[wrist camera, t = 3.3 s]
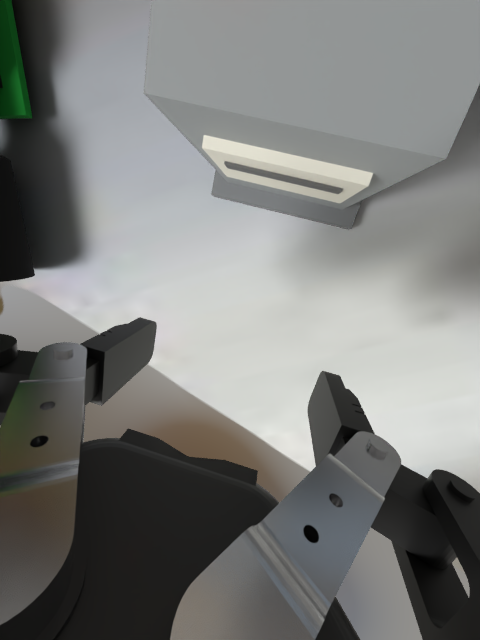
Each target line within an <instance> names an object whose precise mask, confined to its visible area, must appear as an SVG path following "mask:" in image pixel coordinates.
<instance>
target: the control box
mask: <svg viewBox="0 0 480 640" xmlns="http://www.w3.org/2000/svg"><path fill="white" fill-rule="evenodd" d="M479 85H480V0H151V11H150V23H149V35H148V47H147V59H146V71H145V83H144V94H145V95H146V96H147V97H148V98H149V99H150V100H151V102H152V103H153V104H154V105H155V106H156V107H157V108H158V109H159V110H160V111H161V112H162V113H163V114H164V115H165V116H166V117H167V118H168V120H169V121H170V122H171V123H172V124H173V125H174V126H175V127H176V128H177V129H178V130H179V131H180V132H181V133H182V134H183V135H184V137H185V138H186V139H187V140H188V141H189V142H190V143H191V144H192V145H193V146H194V147H195V148H196V149H197V150H198V151H199V152H200V153H201V155H202V156H203V157H204V158H205V159H206V160H207V161H208V162H209V163H210V164H211V165H212V166H213V167H214V168H215V169H216V171H215V177H214V182H213V188H212V194H211V195H213V196H214V197H218V198H222V199H226V200H230V201H234V202H239V203H243V204H247V205H251V206H255V207H259V208H263V209H267V210H271V211H275V212H280V213H284V214H288V215H292V216H296V217H300V218H304V219H308V220H312V221H316V222H321V223H325V224H329V225H333V226H337V227H341V228H345V229H352V226H353V223H354V220H355V218H356V215H357V212H358V210H359V207H360V204H361V201H362V200H363V199H365V198H367V197H369V196H371V195H373V194H375V193H377V192H379V191H382V190H384V189H386V188H388V187H390V186H392V185H394V184H396V183H398V182H400V181H402V180H404V179H406V178H408V177H410V176H412V175H414V174H416V173H418V172H420V171H422V170H424V169H426V168H428V167H430V166H433V165H435V164H437V163H439V162H441V161H443V160H445V159H446V158H447V156H448V154H449V151H450V149H451V147H452V145H453V143H454V140H455V138H456V136H457V134H458V131H459V129H460V127H461V125H462V123H463V120H464V118H465V116H466V114H467V111H468V109H469V107H470V105H471V102H472V100H473V98H474V96H475V94H476V91H477V89H478V87H479Z"/></svg>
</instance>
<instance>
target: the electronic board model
mask: <svg viewBox="0 0 480 640" xmlns="http://www.w3.org/2000/svg"><path fill="white" fill-rule="evenodd" d="M14 118H32V112H31V107H30V101H29V96H28V90H27V84H26V79H25V73H24V68H23V62H22V57H21V51H20V46H19V40H18V34H17V29H16V23H15V18H14V12H13V7H12V1H11V0H0V119H14ZM34 275H35V274H34V269H33V264H32V259H31V255H30V250H29V245H28V241H27V236H26V231H25V227H24V222H23V217H22V212H21V208H20V203H19V198H18V194H17V189H16V184H15V180H14V175H13V170H12V165H11V161H10V160H9V159H7V158H5V157H3V156H0V282H3V281H12V280H19V279H25V278H29V277H33V276H34Z"/></svg>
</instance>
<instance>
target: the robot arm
mask: <svg viewBox="0 0 480 640" xmlns="http://www.w3.org/2000/svg"><path fill="white" fill-rule="evenodd" d="M156 327H157V325H156V322H154V321H151V320H147V319H144V318H138V319H136V320H134V321H132V322H130V323H128V324H123V325H118V326H114V327H112V328H111V329H109V330H107V331H105V332H103V333H101V334H100V335H97V336H95V337H93V338H91V339H89V340H87V341H85V342H83V343H81V344H77V343H70V342H68V343H67V342H63V343H55V344H51V345H48V346H45V347H43V348H42V349H41V350H40V351H39V352H30V351H20V350H17V340H16V339H15V338H14V337H12V336H9V335H4V334H0V425H1V424H2V425H1V428H0V640H360V638H359V637H358V635H357V633H356V631H355V630H354V628H353V626H352V624H351V623H350V621H349V619H348V618H347V616H346V615H345V612H344V611H343V609H342V607H341V605H340V604H339V602H338V600H337V598H336V597H335V596H336V594H337V592H338V590H339V588H340V586H341V584H342V582H343V580H344V578H345V576H346V574H347V572H348V570H349V569H350V566H351V565H352V563H353V561H354V558H355V557H356V555H357V553H358V551H359V549H360V547H361V545H362V543H363V541H364V539H365V537H366V535H367V533H368V531H369V529H370V527H371V528H373V529H374V530H376V531H377V532H379V533H381V534H382V535H384V536H385V537H387V538H388V539H390V540H391V541H392V544H393V547H394V550H395V554H396V557H397V560H398V563H399V566H400V569H401V572H402V576H403V579H404V582H405V585H406V588H407V591H408V594H409V598H410V601H411V604H412V607H413V610H414V613H415V617H416V620H417V623H418V626H419V629H420V632H421V635H422V639H423V640H480V493H479V492H478V491H477V490H476V489H474V488H473V487H472V486H471V485H470V484H468V483H467V482H466V481H464V480H463V479H461V478H459V477H458V476H456V475H454V474H452V473H450V472H447V471H444V470H439V469H438V470H434V471H433V472H432V473H431V474H430V476H429V477H428V479H427V478H426V477H424V476H422V475H420V474H418V473H416V472H414V471H412V470H410V469H409V468H407V467H405V466H403V465H401V458H400V456H399V454H398V453H397V451H396V450H395V449H394V448H393V447H392V446H391V445H390V444H389V443H388V442H387V441H385V440H384V439H382V438H381V437H379V436H377V435H375V434H374V432H373V430H372V428H371V425H370V423H369V421H368V419H367V417H366V415H364V411H363V409H362V408H361V405H360V403H359V400H358V398H357V397H356V396H355V395H354V394H353V393H352V392H351V391H350V390H349V389H346V388H345V386H344V384H343V382H342V379H341V377H340V376H339V375H336V374H332V373H329V372H325V371H322V372H321V373H320V375H319V377H318V380H317V382H316V385H315V387H314V390H313V392H312V395H311V397H310V400H309V404H308V417H309V424H310V430H311V437H312V444H313V450H314V457H315V463H316V467H315V468H314V469H313V470H312V471H311V472H310V473H309V474H308V475H307V476H306V477H305V478H304V479H303V480H302V481H301V482H300V483H299V484H298V485H297V486H296V487H295V488H294V489H293V490H292V491H291V492H290V493H289V494H288V495H287V496H286V497H285V498H284V499H283V500H282V501H281V502H280V503H279V502H278V501H277V500H276V499H275V498H274V497H273V496H272V495H271V494H270V493H269V492H268V491H267V490H265V489H264V488H263V487H261V486H260V485H258V484H257V483H256V481H257V470H254V469H250V468H247V467H244V466H241V465H238V464H235V463H232V462H229V461H226V460H218V459H207V458H195V457H189V456H186V455H184V454H183V453H181V452H180V451H178V450H176V449H175V448H173V447H172V446H170V445H168V444H167V443H165V442H164V441H162V440H160V439H158V438H156V437H152V436H149V435H146V434H143V433H140V432H137V431H134V430H131V429H127V431H126V432H125V433H124V434H123V436H122V437H121V438H106V439H97V440H92V441H88V442H84V443H83V438H84V420H85V405H86V404H87V403H89V402H92V403H95V404H98V405H101V406H102V405H103V404H104V403H105V402H106V401H107V400H108V399H110V398H111V397H112V396H113V395H114V394H115V393H116V392H117V391H118V390H119V389H120V388H122V387H123V386H124V385H125V384H126V383H127V382H128V381H129V380H130V379H131V378H132V377H133V376H134V375H136V374H137V373H138V372H139V371H140V370H141V369H142V368H143V367H144V366H145V365H147V364H148V362H149V361H150V359H151V357H152V355H153V350H154V343H155V335H156ZM456 557H457V558H458V560H459V562H460V564H461V566H462V567H463V569H464V571H465V573H466V576H467V578H468V582H469V587H470V597H469V598H468V596H467V594H466V592H465V590H464V587H463V585H462V583H461V582H460V579H459V577H458V575H457V573H456V571H455V569H454V567H453V565H452V562H453V561H454V560H455V558H456Z"/></svg>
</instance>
